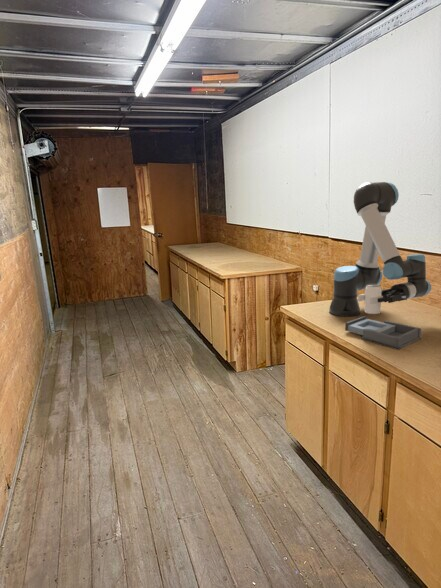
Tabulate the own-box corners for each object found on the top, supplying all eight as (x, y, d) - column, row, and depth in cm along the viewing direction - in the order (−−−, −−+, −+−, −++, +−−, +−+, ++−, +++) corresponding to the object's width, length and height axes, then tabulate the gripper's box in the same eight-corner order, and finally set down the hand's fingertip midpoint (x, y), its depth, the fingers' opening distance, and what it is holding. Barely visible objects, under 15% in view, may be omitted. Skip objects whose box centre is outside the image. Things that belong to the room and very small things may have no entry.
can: (362, 310, 171) (363, 283, 168) (377, 310, 171) (378, 283, 168) (367, 314, 165) (368, 286, 162) (382, 314, 164) (384, 286, 162)
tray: (345, 330, 172) (345, 322, 171) (364, 323, 180) (364, 315, 179) (377, 339, 160) (377, 330, 159) (395, 331, 169) (396, 323, 168)
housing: (361, 339, 164) (362, 329, 163) (384, 329, 174) (385, 320, 173) (398, 349, 152) (399, 338, 151) (420, 338, 162) (421, 328, 161)
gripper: (420, 304, 167) (382, 313, 156) (384, 295, 183) (347, 303, 173) (422, 287, 165) (383, 295, 155) (385, 280, 181) (348, 287, 171)
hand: (365, 299), depth 164 cm, fingers closed on can, 6 cm apart
